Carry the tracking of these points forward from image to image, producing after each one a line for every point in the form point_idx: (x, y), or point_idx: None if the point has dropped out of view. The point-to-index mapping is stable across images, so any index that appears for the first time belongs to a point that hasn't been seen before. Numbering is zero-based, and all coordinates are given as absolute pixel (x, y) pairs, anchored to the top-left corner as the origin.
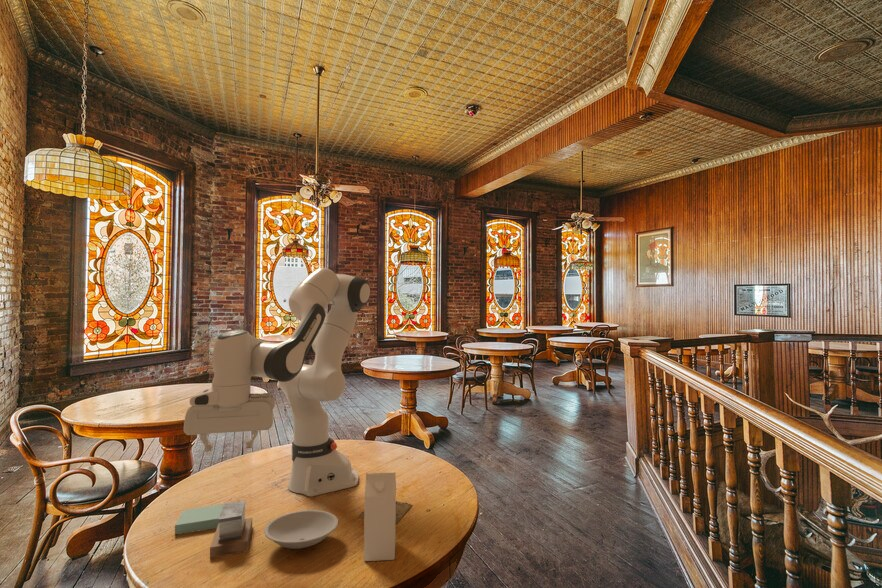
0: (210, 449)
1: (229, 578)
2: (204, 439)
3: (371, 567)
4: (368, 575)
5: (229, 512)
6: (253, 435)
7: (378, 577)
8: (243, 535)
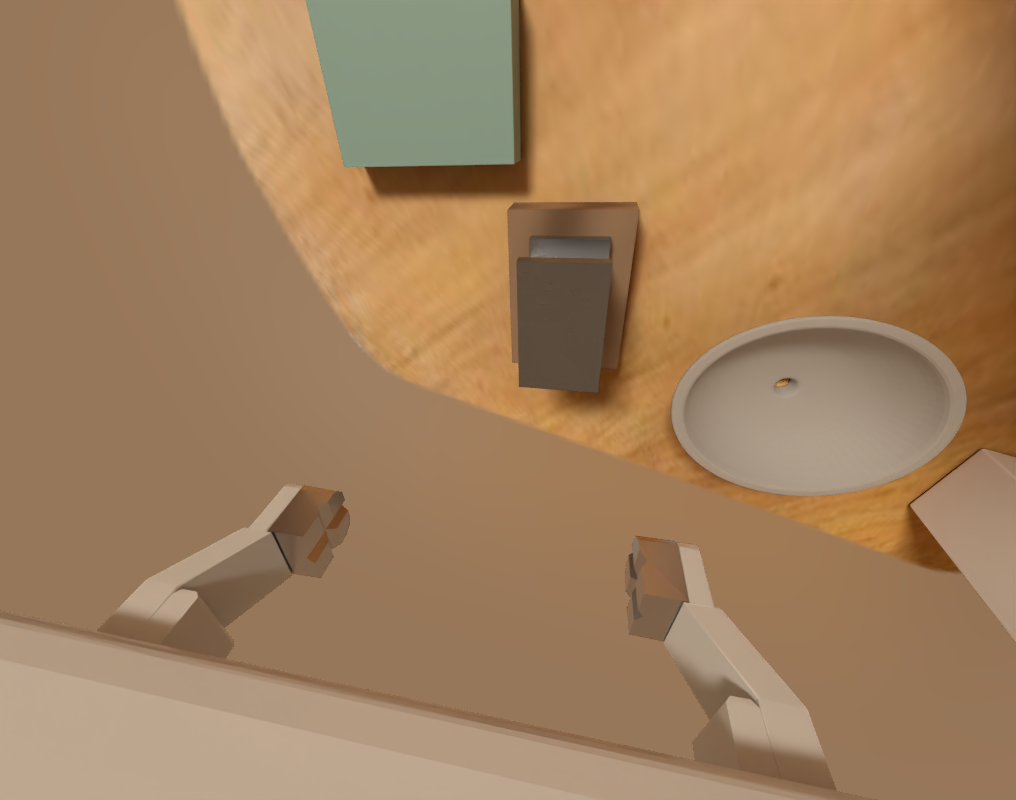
0: (338, 541)
1: (577, 436)
2: (230, 620)
3: (909, 523)
4: (882, 538)
5: (550, 353)
6: (720, 677)
7: (898, 550)
8: (605, 334)
